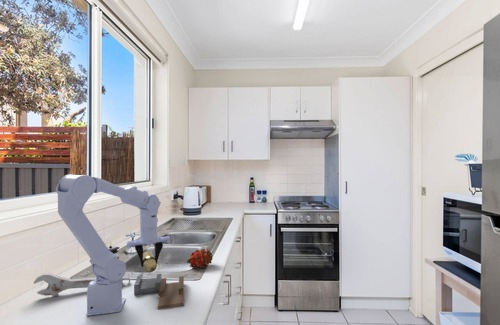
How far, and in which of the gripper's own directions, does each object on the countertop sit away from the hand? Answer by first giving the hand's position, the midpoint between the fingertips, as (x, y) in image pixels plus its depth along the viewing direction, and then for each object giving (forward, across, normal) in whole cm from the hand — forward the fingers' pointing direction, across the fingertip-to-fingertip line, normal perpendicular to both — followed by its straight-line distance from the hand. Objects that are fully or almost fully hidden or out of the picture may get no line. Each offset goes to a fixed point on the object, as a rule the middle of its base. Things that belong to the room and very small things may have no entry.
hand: (149, 264), depth 99 cm
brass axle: (-1, 0, +1) cm, 1 cm away
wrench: (+9, -21, +9) cm, 24 cm away
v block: (+9, 0, 0) cm, 9 cm away
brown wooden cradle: (+9, +7, -8) cm, 13 cm away
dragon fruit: (+9, +22, +11) cm, 27 cm away
